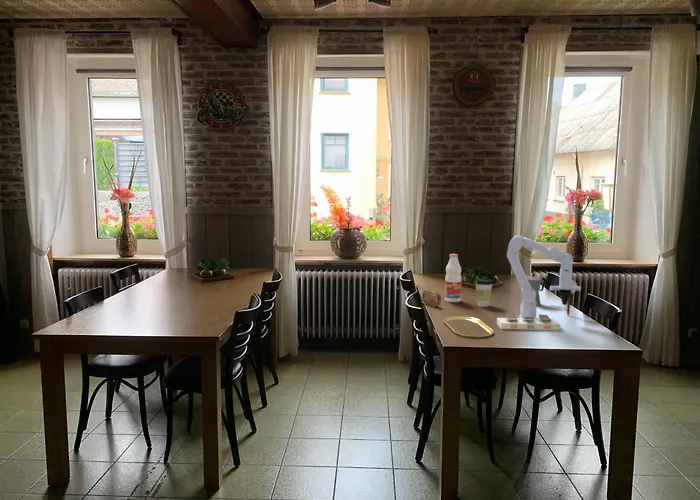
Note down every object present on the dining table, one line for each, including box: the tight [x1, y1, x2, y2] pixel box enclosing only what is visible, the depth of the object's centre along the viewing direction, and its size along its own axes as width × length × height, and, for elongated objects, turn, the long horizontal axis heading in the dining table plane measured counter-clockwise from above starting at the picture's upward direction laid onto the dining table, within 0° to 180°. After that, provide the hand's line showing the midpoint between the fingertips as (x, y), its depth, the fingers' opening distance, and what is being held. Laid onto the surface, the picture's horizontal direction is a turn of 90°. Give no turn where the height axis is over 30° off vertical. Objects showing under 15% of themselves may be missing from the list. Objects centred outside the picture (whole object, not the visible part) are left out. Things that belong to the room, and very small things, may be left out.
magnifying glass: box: [566, 278, 579, 317], centre depth 283 cm, size 9×2×20 cm, turn 96°
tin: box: [421, 289, 442, 308], centre depth 308 cm, size 15×3×8 cm, turn 27°
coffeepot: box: [526, 273, 547, 307], centre depth 310 cm, size 15×9×18 cm, turn 107°
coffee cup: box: [474, 278, 494, 308], centre depth 306 cm, size 10×10×15 cm
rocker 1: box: [505, 313, 518, 322], centre depth 263 cm, size 6×4×1 cm, turn 176°
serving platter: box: [443, 315, 494, 339], centre depth 262 cm, size 19×35×2 cm, turn 6°
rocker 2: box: [538, 314, 552, 322], centre depth 262 cm, size 6×4×1 cm, turn 176°
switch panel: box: [496, 317, 561, 331], centre depth 263 cm, size 10×28×4 cm, turn 86°
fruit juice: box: [444, 253, 462, 303], centre depth 317 cm, size 9×9×28 cm
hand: (564, 304), depth 270 cm, fingers closed
